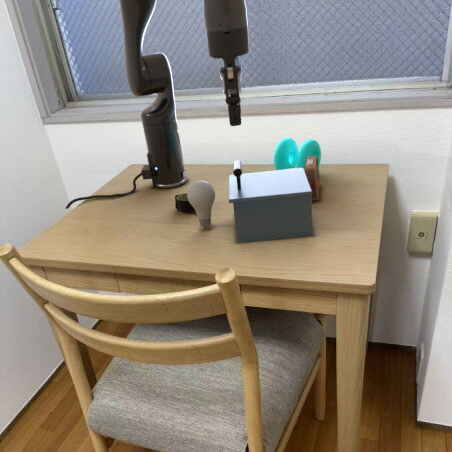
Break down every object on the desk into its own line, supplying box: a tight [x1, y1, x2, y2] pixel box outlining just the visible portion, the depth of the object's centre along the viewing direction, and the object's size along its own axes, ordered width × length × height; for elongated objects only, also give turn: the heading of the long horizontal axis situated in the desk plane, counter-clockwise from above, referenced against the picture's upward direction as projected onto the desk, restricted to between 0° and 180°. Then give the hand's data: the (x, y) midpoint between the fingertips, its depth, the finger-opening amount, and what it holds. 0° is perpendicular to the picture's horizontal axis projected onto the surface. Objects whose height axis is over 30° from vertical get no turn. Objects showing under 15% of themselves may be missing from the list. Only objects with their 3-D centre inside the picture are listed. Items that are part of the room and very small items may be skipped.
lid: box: [228, 159, 312, 204], centre depth 100 cm, size 17×15×5 cm
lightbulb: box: [187, 180, 216, 229], centre depth 105 cm, size 6×6×11 cm
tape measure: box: [174, 192, 196, 214], centre depth 117 cm, size 7×7×4 cm
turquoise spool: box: [273, 136, 322, 172], centre depth 127 cm, size 10×10×10 cm
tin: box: [305, 155, 320, 201], centre depth 116 cm, size 15×3×8 cm, turn 168°
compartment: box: [232, 195, 313, 243], centre depth 104 cm, size 16×15×9 cm
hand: (235, 120), depth 94 cm, fingers open, 8 cm apart
